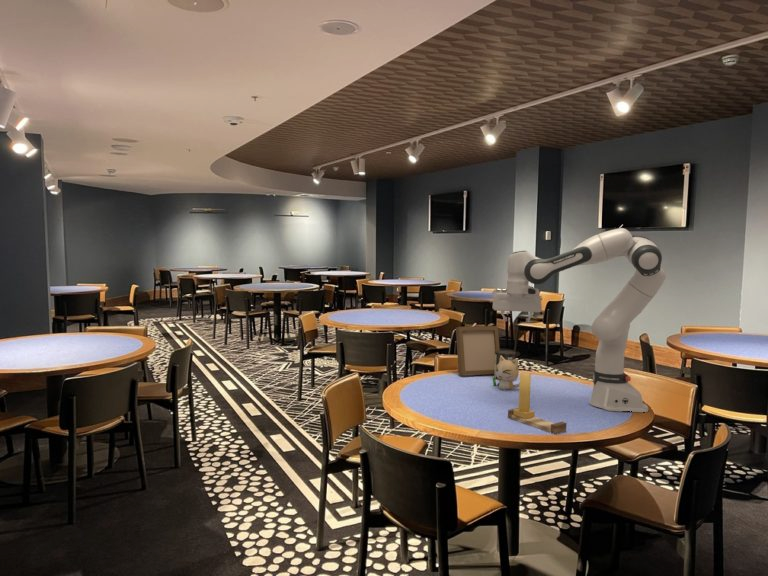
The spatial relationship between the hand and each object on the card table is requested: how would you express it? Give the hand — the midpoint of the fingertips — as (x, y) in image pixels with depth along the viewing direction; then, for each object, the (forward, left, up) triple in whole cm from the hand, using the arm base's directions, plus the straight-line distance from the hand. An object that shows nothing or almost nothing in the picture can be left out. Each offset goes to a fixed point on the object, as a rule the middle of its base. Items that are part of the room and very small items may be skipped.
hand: (516, 321), depth 227 cm
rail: (-10, +29, -34) cm, 46 cm away
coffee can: (+7, -38, -34) cm, 52 cm away
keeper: (-5, +25, -32) cm, 42 cm away
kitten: (+5, -20, -34) cm, 40 cm away
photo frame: (+22, -47, -34) cm, 62 cm away
